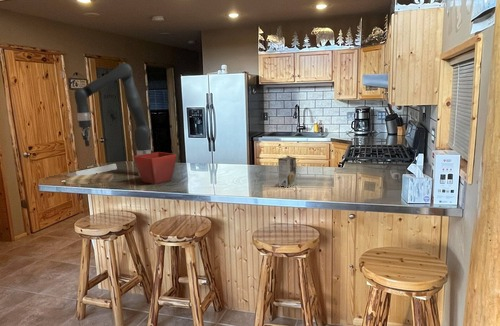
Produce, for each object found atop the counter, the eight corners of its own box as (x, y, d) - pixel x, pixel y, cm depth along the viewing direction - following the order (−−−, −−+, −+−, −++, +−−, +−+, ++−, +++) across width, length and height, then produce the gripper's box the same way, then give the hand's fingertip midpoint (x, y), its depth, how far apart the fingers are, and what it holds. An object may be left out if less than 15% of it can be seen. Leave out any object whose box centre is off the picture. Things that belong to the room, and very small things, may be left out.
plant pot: (152, 186, 216) (150, 158, 213) (134, 182, 228) (132, 155, 225) (178, 180, 230) (177, 154, 227) (160, 177, 242) (158, 151, 239)
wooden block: (113, 177, 243) (113, 173, 242) (108, 182, 229) (108, 177, 229) (96, 178, 241) (95, 174, 241) (90, 183, 228) (89, 178, 227)
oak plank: (95, 178, 241) (95, 174, 241) (89, 183, 228) (89, 178, 227) (73, 180, 239) (72, 175, 239) (66, 184, 226) (65, 180, 225)
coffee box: (287, 183, 214) (286, 156, 211) (296, 184, 210) (296, 157, 207) (278, 186, 207) (277, 158, 205) (287, 187, 203) (287, 159, 201)
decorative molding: (68, 181, 252) (77, 178, 247) (67, 174, 251) (75, 171, 246) (108, 172, 281) (117, 169, 276) (107, 166, 281) (115, 163, 276)
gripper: (87, 119, 231) (91, 147, 234) (92, 119, 244) (96, 144, 247) (75, 120, 230) (78, 147, 233) (80, 119, 243) (84, 145, 246)
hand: (87, 146), depth 240 cm, fingers closed
